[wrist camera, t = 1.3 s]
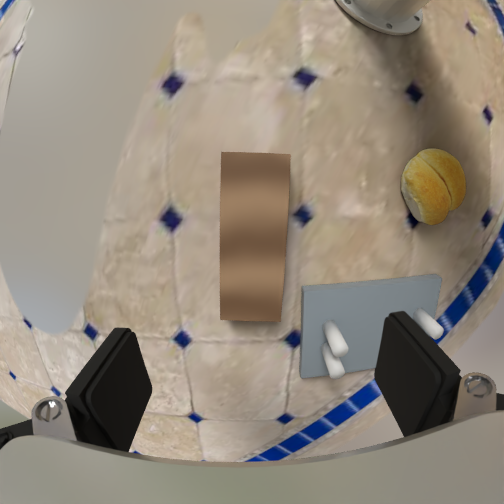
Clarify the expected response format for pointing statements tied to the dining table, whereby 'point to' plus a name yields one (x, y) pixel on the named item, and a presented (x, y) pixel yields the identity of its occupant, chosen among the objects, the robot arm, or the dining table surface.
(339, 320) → the peg stand
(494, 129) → the dining table surface
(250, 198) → the brown wooden block
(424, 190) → the bread roll
